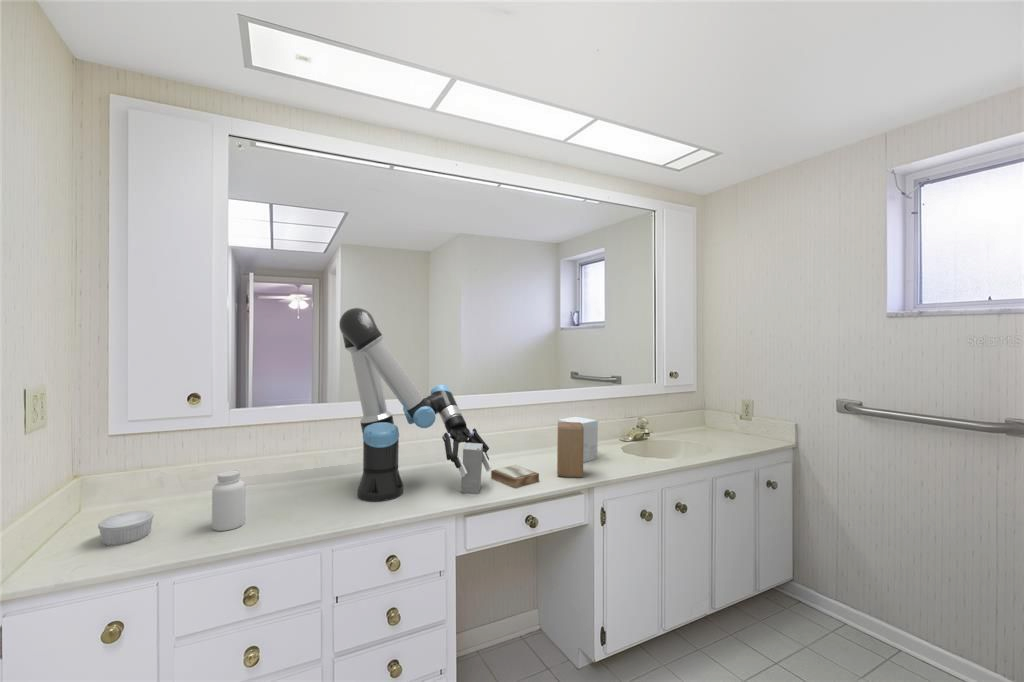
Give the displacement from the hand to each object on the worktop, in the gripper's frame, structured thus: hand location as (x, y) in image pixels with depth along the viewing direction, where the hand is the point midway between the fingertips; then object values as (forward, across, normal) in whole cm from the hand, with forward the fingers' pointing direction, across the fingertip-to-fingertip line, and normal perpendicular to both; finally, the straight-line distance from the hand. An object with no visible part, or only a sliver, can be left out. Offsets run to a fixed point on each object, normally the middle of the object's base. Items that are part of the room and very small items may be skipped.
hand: (477, 472), depth 154 cm
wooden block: (+9, -41, -1) cm, 42 cm away
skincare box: (+3, 0, -7) cm, 8 cm away
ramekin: (-15, +93, -26) cm, 98 cm away
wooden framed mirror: (+3, -19, -6) cm, 20 cm away
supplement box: (-1, -61, -11) cm, 62 cm away
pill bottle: (-10, +71, -20) cm, 74 cm away
